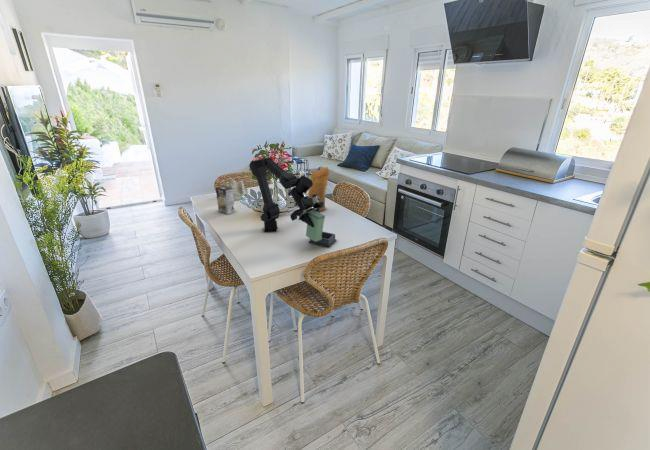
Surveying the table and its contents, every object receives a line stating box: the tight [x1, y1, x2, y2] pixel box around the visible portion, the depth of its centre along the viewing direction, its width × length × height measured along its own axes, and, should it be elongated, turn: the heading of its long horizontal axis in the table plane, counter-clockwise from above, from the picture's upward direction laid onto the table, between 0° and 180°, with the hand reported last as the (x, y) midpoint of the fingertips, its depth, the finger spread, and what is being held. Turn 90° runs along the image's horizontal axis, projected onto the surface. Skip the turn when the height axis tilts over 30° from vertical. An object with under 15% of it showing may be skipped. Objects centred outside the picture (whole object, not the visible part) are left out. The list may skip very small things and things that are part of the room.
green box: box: [305, 210, 326, 242], centre depth 151 cm, size 7×4×13 cm, turn 44°
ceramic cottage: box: [225, 178, 249, 201], centre depth 226 cm, size 16×16×15 cm
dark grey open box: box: [308, 231, 337, 248], centre depth 162 cm, size 12×8×4 cm
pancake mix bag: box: [307, 166, 329, 213], centre depth 197 cm, size 7×19×28 cm, turn 139°
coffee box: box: [215, 184, 236, 215], centre depth 198 cm, size 9×6×16 cm
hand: (316, 225), depth 150 cm, fingers closed on green box, 4 cm apart
